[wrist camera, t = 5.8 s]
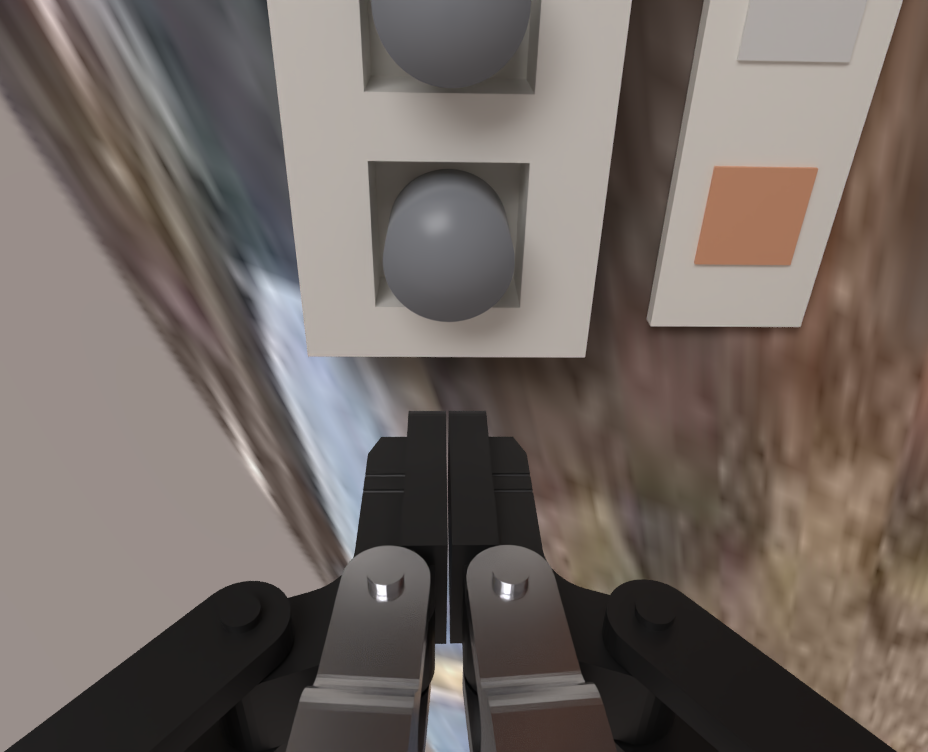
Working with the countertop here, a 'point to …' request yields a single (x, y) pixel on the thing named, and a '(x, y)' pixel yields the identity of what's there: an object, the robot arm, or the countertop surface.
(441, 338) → the button panel
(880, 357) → the countertop surface
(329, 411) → the countertop surface
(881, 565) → the countertop surface
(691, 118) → the pattern card
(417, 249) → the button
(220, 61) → the countertop surface
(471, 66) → the button middle
